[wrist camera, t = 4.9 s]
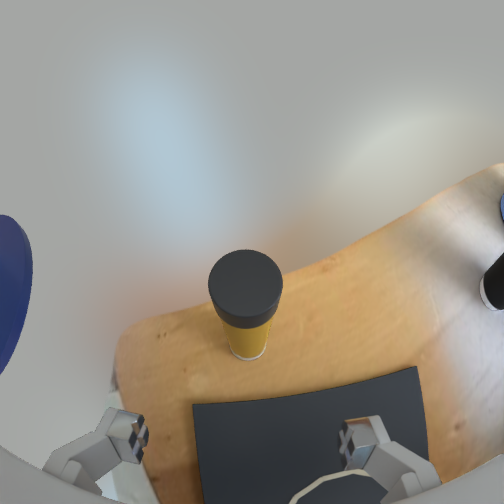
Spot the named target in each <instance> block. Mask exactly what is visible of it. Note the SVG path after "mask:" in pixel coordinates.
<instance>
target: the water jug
mask: <svg viewBox="0 0 504 504" xmlns="http://www.w3.org/2000/svg"><path fill="white" fill-rule="evenodd" d="M501 212H502V217H503V220H504V194H503V196H502V198H501Z"/></svg>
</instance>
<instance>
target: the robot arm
mask: <svg viewBox="0 0 504 504" xmlns="http://www.w3.org/2000/svg"><path fill="white" fill-rule="evenodd" d="M144 420H145V419H144V417H143V415H141V414H137V413H132V412H128V411H124V410H120V409H115V408H111V407H109V408H108V409H107V410H106V412H105V414H104V416H103V417H102V419H101V421H100V423H99V425H98V426H97V428H96V430H95V432H90V433H88V434H86V435H84V436H82V437H80V438H78V439H76V440H74V441H72V442H70V443H68V444H66V445H64V446H62V447H60V448H58V449H56V450H54V451H53V452H52V454H51V455H50V457H49V459H48V460H47V462H46V464H45V466H44V467H43V469H42V470H40V469H39V468H37V467H35V466H33V465H31V464H29V463H28V462H26V461H24V460H22V459H21V458H19V457H17V456H16V455H14V454H12V453H11V452H9V451H8V450H6V449H5V448H3V447H2V446H0V504H125V503H122V502H118V501H115V500H112V499H109V498H106V497H103V496H101V495H102V491H101V489H100V488H99V487H98V485H97V484H96V483H95V481H97V480H98V479H100V478H101V477H102V476H103V475H105V474H106V473H107V472H109V471H110V470H111V469H113V468H114V467H115V466H117V465H118V464H119V463H120V462H122V461H126V462H130V463H135V464H140V463H141V460H142V457H143V454H144V453H143V450H142V448H144V447H145V446H147V443H148V437H149V432H148V428H147V426H146V425H145V424H144ZM341 426H342V430H341V431H340V432H339V434H338V437H337V446H338V451H339V452H340V453H341V454H343V456H342V458H341V462H342V466H343V470H344V471H349V470H356V469H362V468H363V470H364V471H365V472H367V473H368V474H369V475H370V476H371V477H372V478H373V479H374V480H376V481H377V482H378V483H379V484H380V485H381V486H383V487H384V488H385V489H386V490H387V491H388V493H387V494H386V495H385V497H384V498H383V499H382V500H381V501H380V503H381V504H504V454H500V455H498V456H496V457H495V458H493V459H491V460H490V461H488V462H486V463H484V464H483V465H481V466H479V467H477V468H475V469H474V470H472V471H470V472H468V473H466V474H464V475H462V476H460V477H458V478H456V479H453V480H451V481H449V482H447V483H445V484H442V482H441V480H440V478H439V476H438V474H437V472H436V470H435V468H434V466H433V464H432V463H430V462H428V461H427V460H425V459H423V458H421V457H420V456H418V455H416V454H415V453H413V452H411V451H410V450H408V449H406V448H405V447H403V446H401V445H400V444H398V443H397V442H395V441H392V442H391V440H390V438H389V436H388V433H387V431H386V429H385V427H384V425H383V422H382V420H381V418H380V416H378V415H375V416H369V417H362V418H355V419H349V420H344V421H343V423H342V425H341ZM121 460H122V461H121Z"/></svg>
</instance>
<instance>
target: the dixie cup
mask: <svg viewBox="0 0 504 504" xmlns="http://www.w3.org/2000/svg"><path fill="white" fill-rule="evenodd" d="M480 294H481V297H482V300H483V302H484V303H485V305H486V306H487V307H488V308H489V309H490V310H493V311H496V310H503V309H504V253H503V254H502V255H501V256H500V257H499V258H498V259H497V261H496V262H495V263H494V264H493V265H492V266H491V267H490V268H489V269H488V270H487V271H486V273H485V274H484V277H483V278H482V279H481V281H480Z"/></svg>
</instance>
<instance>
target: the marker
mask: <svg viewBox="0 0 504 504" xmlns="http://www.w3.org/2000/svg"><path fill="white" fill-rule="evenodd" d="M208 288H209V293H210V296H211V299H212V302H213V305H214V307H215V310H216V312H217V314H218V315H219V317H220V319H221V321H222V324H223V327H224V330H225V333H226V336H227V339H228V341H229V346H230V349H231V351H232V353H233V354H234V355H235V356H236V357H237V358H239V359H241V360H246V361H250V360H254V359H257V358H258V357H260V356H261V355H262V354H263V352H264V351H265V348H266V344H267V338H268V334H269V330H270V327H271V323H272V319H273V315H274V314H275V312H276V310H277V307H278V304H279V300H280V296H281V293H282V288H283V280H282V275H281V272H280V270H279V268H278V266H277V265H276V264H275V262H274V261H273V260H272V259H271V258H269V257H268V256H266V255H265V254H263V253H260V252H257V251H254V250H237V251H234V252H231V253H228V254H226V255H225V256H223V257H222V258H221V259H220V260H218V261H217V263H216V264H215V265H214V267H213V268H212V270H211V272H210V275H209V280H208Z"/></svg>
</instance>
